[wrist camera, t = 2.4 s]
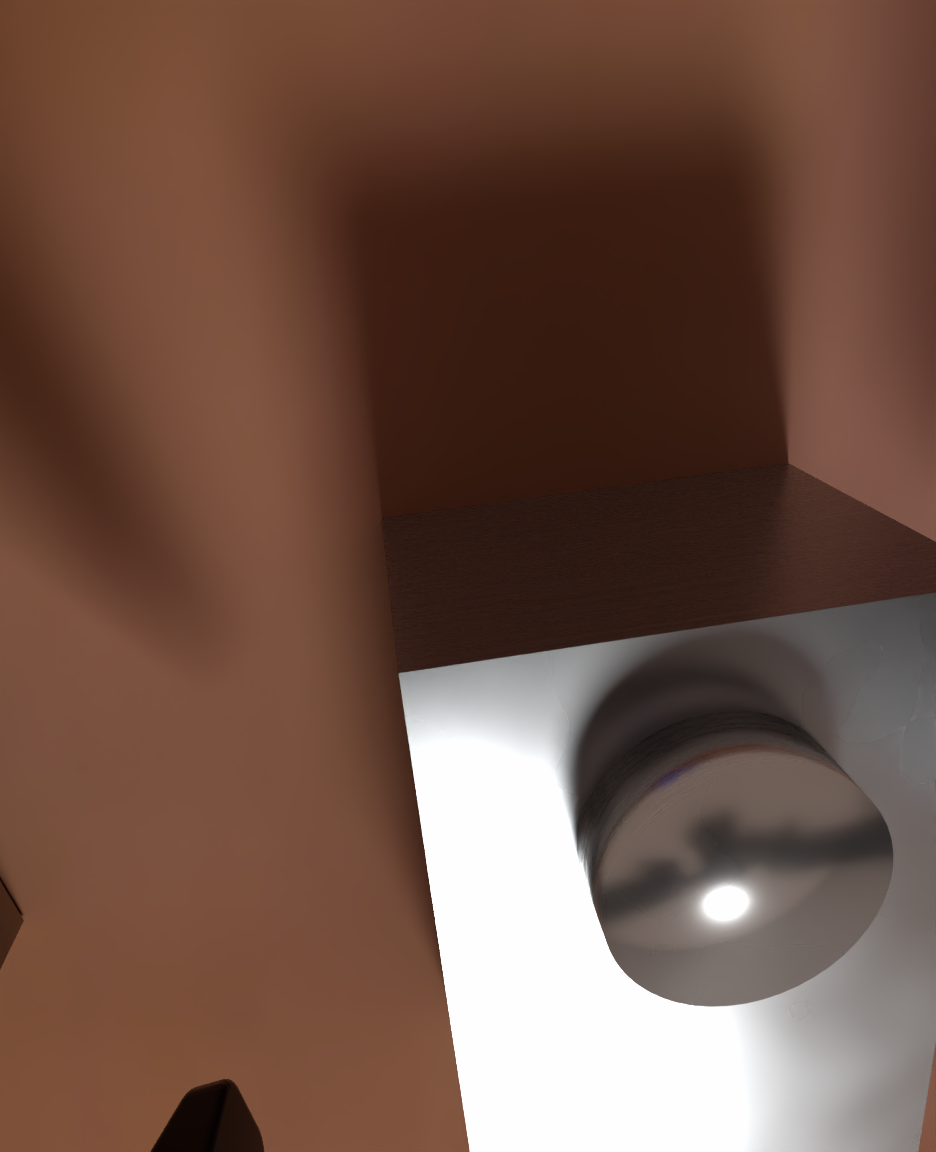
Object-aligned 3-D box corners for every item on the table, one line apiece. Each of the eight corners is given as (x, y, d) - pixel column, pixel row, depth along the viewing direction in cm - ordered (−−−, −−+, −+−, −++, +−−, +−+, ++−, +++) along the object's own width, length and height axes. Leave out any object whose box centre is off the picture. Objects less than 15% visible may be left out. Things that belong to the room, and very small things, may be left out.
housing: (452, 997, 13) (502, 1379, 9) (381, 513, 10) (404, 728, 6) (759, 941, 14) (954, 1280, 9) (780, 459, 11) (1088, 624, 6)
